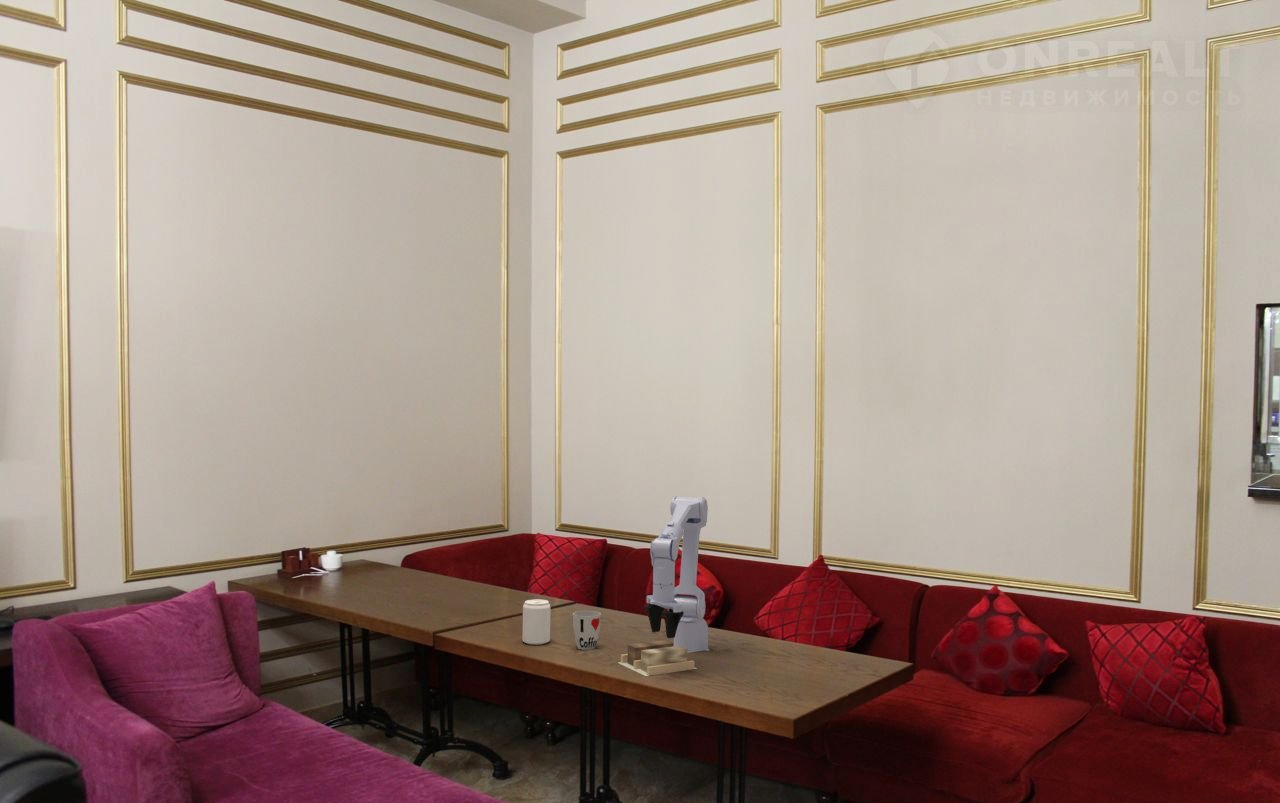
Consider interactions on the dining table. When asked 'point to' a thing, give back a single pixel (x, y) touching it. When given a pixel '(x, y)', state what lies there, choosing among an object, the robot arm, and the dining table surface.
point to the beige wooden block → (663, 656)
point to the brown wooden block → (635, 649)
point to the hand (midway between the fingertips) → (663, 634)
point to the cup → (586, 629)
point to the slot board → (657, 666)
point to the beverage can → (536, 622)
